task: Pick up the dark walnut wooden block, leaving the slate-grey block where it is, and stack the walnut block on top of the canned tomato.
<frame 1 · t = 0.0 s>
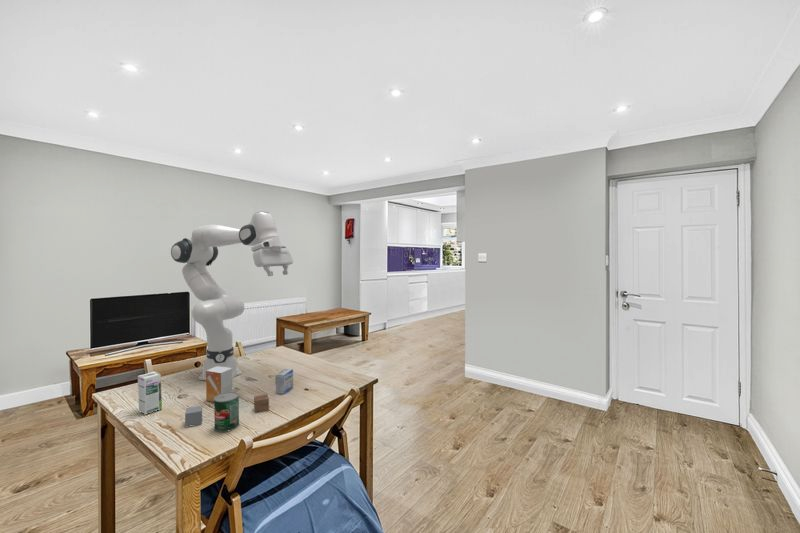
hand: (278, 275, 154), 52 cm above the table, tool tilted 20°, fingers open, 8 cm apart
walnut block: (261, 409, 137), on the table
canned tomato: (226, 427, 123), on the table
syrup box: (150, 411, 135), on the table
medicine box: (284, 391, 155), on the table
slate block: (194, 423, 126), on the table
small box: (219, 399, 145), on the table
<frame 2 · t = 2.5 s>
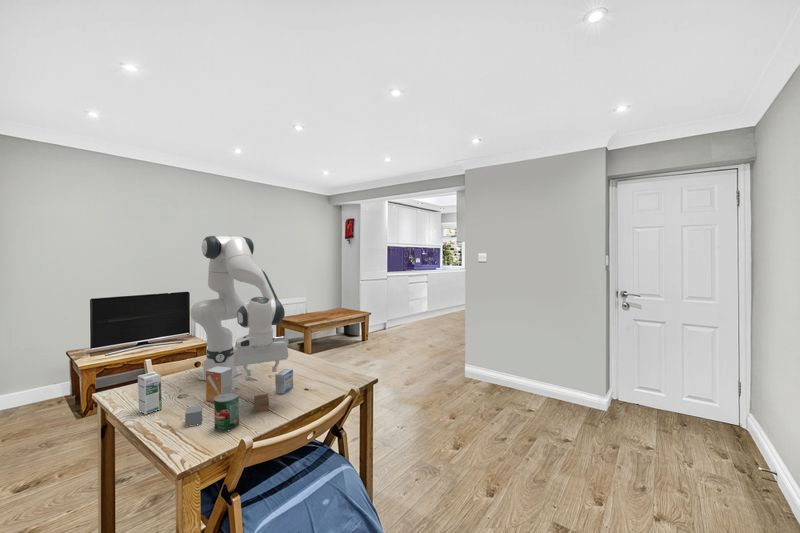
hand: (261, 373, 136), 15 cm above the table, tool pointing down, fingers open, 8 cm apart
nothing on the table moved.
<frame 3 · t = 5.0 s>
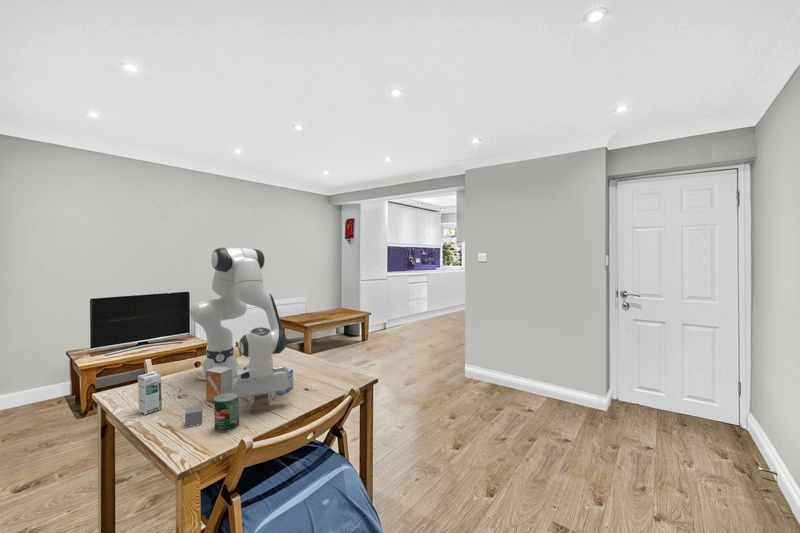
hand: (261, 403, 137), 2 cm above the table, tool pointing down, fingers closed on walnut block, 5 cm apart
walnut block: (261, 409, 137), on the table, touching gripper
everything else where it was.
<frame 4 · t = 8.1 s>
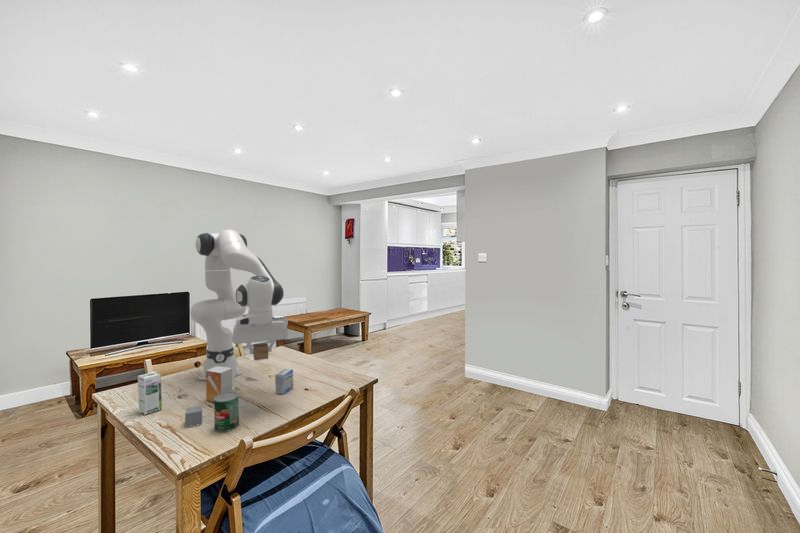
hand: (260, 352, 136), 23 cm above the table, tool pointing down, fingers closed on walnut block, 5 cm apart
walnut block: (260, 357, 136), point 21 cm above the table, touching gripper
everything else where it was.
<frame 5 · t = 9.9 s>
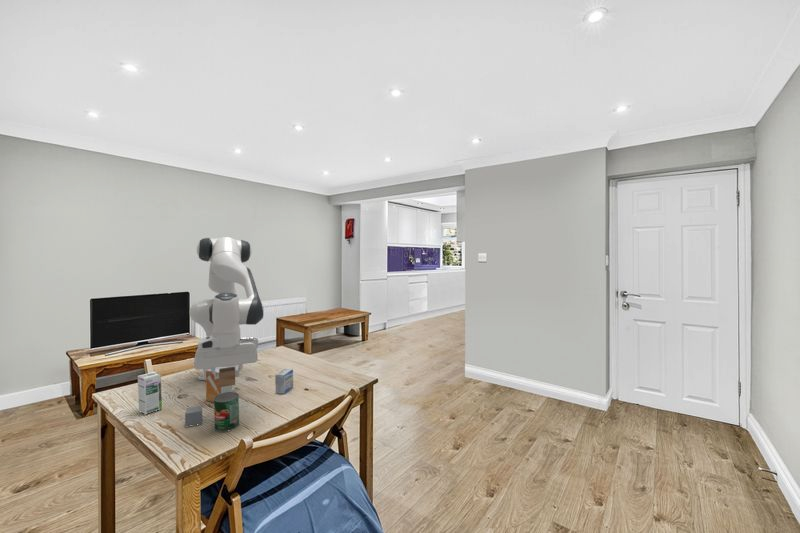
hand: (227, 377, 123), 18 cm above the table, tool pointing down, fingers closed on walnut block, 5 cm apart
walnut block: (227, 383, 123), point 16 cm above the table, touching gripper
everything else where it was.
when the fingers open (15 cm above the table, at t = 11.2 s): walnut block drops 2 cm, resting on canned tomato.
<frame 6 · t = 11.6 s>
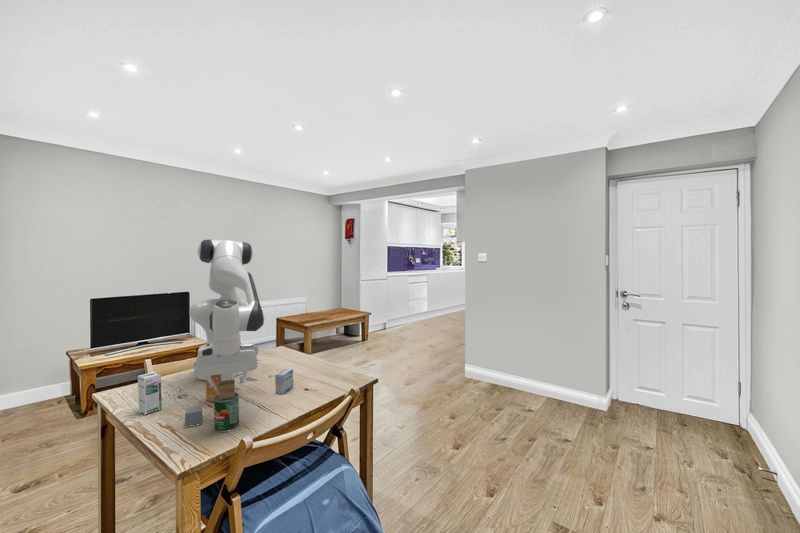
hand: (227, 384, 123), 15 cm above the table, tool pointing down, fingers open, 8 cm apart
walnut block: (226, 396, 123), point 11 cm above the table, touching canned tomato
canned tomato: (226, 427, 123), on the table, touching walnut block
everything else where it was.
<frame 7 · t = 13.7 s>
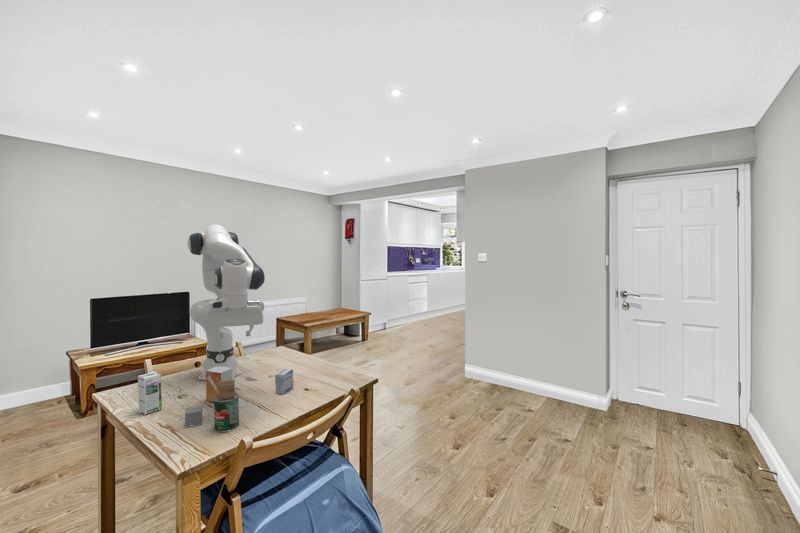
hand: (234, 337, 133), 30 cm above the table, tool pointing down, fingers open, 8 cm apart
nothing on the table moved.
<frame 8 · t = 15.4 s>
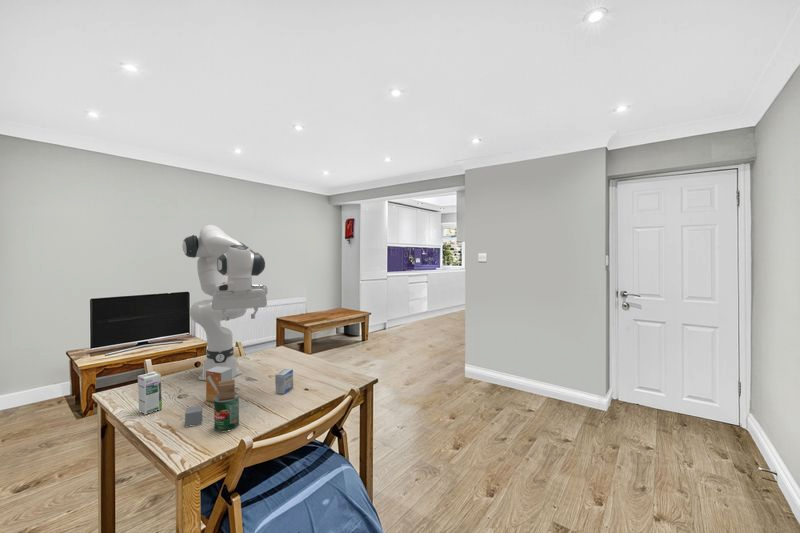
hand: (240, 319, 139), 35 cm above the table, tool pointing down, fingers open, 8 cm apart
nothing on the table moved.
at the end: walnut block inside the target area on the canned tomato (0.2 cm from its centre), point 11.2 cm above the canned tomato's base; walnut block tilted 0°; the gripper is holding nothing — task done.
